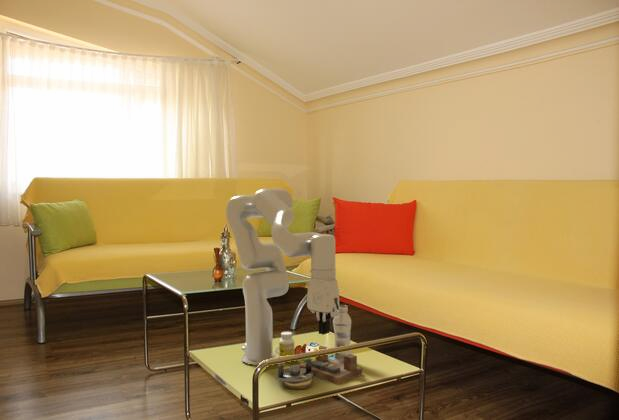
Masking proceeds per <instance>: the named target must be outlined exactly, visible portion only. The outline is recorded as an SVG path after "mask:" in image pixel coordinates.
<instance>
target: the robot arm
mask: <svg viewBox="0 0 619 420" xmlns="http://www.w3.org/2000/svg"><path fill="white" fill-rule="evenodd" d="M293 201H294V200H293V197H292V194H291V193H290V191H288V190H287V189H285V188H262V189H259V190H257V191H256V192H254V194H240V195H236V196H233V197H231V198H229V200H228V201H227V203H226V207H225V216H226V221H227V224H228V226H229V228H230V231H231V232H232V235H233V237H234V242H235V246H236V250H237V255H238V258H239V262H240V265H241V267H242V268H243V269H244V270H247V271H255V270H262V269H266V270H264V271H258V272H257V271H256V272H253V273H249V274H248V275H246V276H245V277H244V278H243V281H242V294H243V297H244V304H245V305H244V307H245V344H244V346H241V351H243V352H244V355H242V357H241V362H242V361H243V362H245V363H248V364H247V365H249V364H257V365H256V366H259V365H258V364H259V363H260V362H262V361H263V360H266V359H270V358H274V357H277V358H278V355H277V354H276V353H273V352H274V350H273V349H274V348H273V345H274V342H273V340H274V339H273V310H272V306H271V305H270V303H269V302H268V299H270V298H274V297H281V296H283V295H285V294H286V293H287V292H288V290H289V289H290V288H289V287H290V280H289V279H290V278H289V275H288V272H287V267H286V265H285V259H284V258H283V257H284V256H283V254H284V255H285V256H287V257H289V258H291V259H292V258H301V257H302V258H303V257H310V261H311V262H310V265H311V266H310V270H309V273H310V275H311V277H309V279H308V284H307V285H308V286H307V295H306V296H307V297H306V306H307V309H308V310H310V312H311V313H312V314H314V315H315V317H316V320H317V322H318V335H319V334H320V335H322V336H323V335H326V334H329V333H330V321H331V320H332V319H333V318H334V317H336V316H338V312H337V311H338V310H339V305H340V291H339V290H340V289H339V285H338V279H337V278H336V277H337V276H336V272H337V271H336V270H337V269H336V268H337V267H336V238H335V236H334V235H333V234H329V233H318V232H315V231H314V232H313V231H311V232H310V231H309V232H308V231H307V232H297V233H292V232H290V230H288V227H290V225H292V223H293V221H294V218H295V217H294V216H295V215H294V212H293V209H292V207H293V204H294V203H293ZM256 218H257V219H258V218H259V219H260V218H264V219H265V220H266V221H267V222H268V223H269V224H270V226H271V230H270V232H271V233H270V234H271V238H272V240H273V242H261V241H260V239H259V235H258V232H257V230H256V229H257V228H255V227H254V225H253V224H252V223H251V222H250V221H249V220H248V219H256ZM282 253H283V254H282ZM245 363H244V364H245Z"/></svg>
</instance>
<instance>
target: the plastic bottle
mask: <svg viewBox="0 0 619 420" xmlns="http://www.w3.org/2000/svg"><path fill="white" fill-rule="evenodd" d="M337 312H338V316H336V317H333V318H332V319H333V320H332V325H333V331H334V332H333V333H334V344H333V345H334V347H340V346H345V345H349V344H351V329H352V318H351V316H350V314H349V313H348V312H349V309H348V305H345V304H339V310H338V311H337ZM348 354H352V355H353V352H352V349H351V350H350V351H345V352H340V353H336V354H332V356H333V360H335V361H338V362H342V363H344V356H345V355H348Z"/></svg>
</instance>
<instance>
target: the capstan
mask: <svg viewBox="0 0 619 420" xmlns="http://www.w3.org/2000/svg"><path fill="white" fill-rule="evenodd" d="M311 360H312V359H310V358H308V359H307V358H306V359H305V362H306V369H304V368H300V366H299V364H291V365H290V366H289V367H288V368H285V367H284V366H285V365H284V364H282V363H281V364H277V372H276V379H277V380H278V381H279V382H282V383H283V385H284V387H286V388H287V389H291V390H305V389H308V388H310V387H312V386H313V383H314V379H313V378H314V376H313V372H312V364H311Z"/></svg>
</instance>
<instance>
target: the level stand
mask: <svg viewBox="0 0 619 420" xmlns="http://www.w3.org/2000/svg"><path fill="white" fill-rule="evenodd" d="M318 347H319V349H326V348H328V346H327V347H326V346H323V345H321V346H318ZM311 364H312V372H313V377H315V378H319V379H322V380H324V381H327V382H330V383H333V384H336V385H339V384H342V383H344V381H345V382H347V381H349V379H350V380H352V379H354V377H355V378H357V377H360V376H362V375H363V368H361V367H358V356H357V355H355V354H353V353H352V354H348V355H345V356H344V363H342V362H338V361H335V360H334V359H332V358H329V354H328V355H323V356H318V357H316V356H315V359H311ZM298 365H299V366H300V368H304V369H306V361H305V362H302V363H299V364H298ZM359 375H360V376H359Z"/></svg>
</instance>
